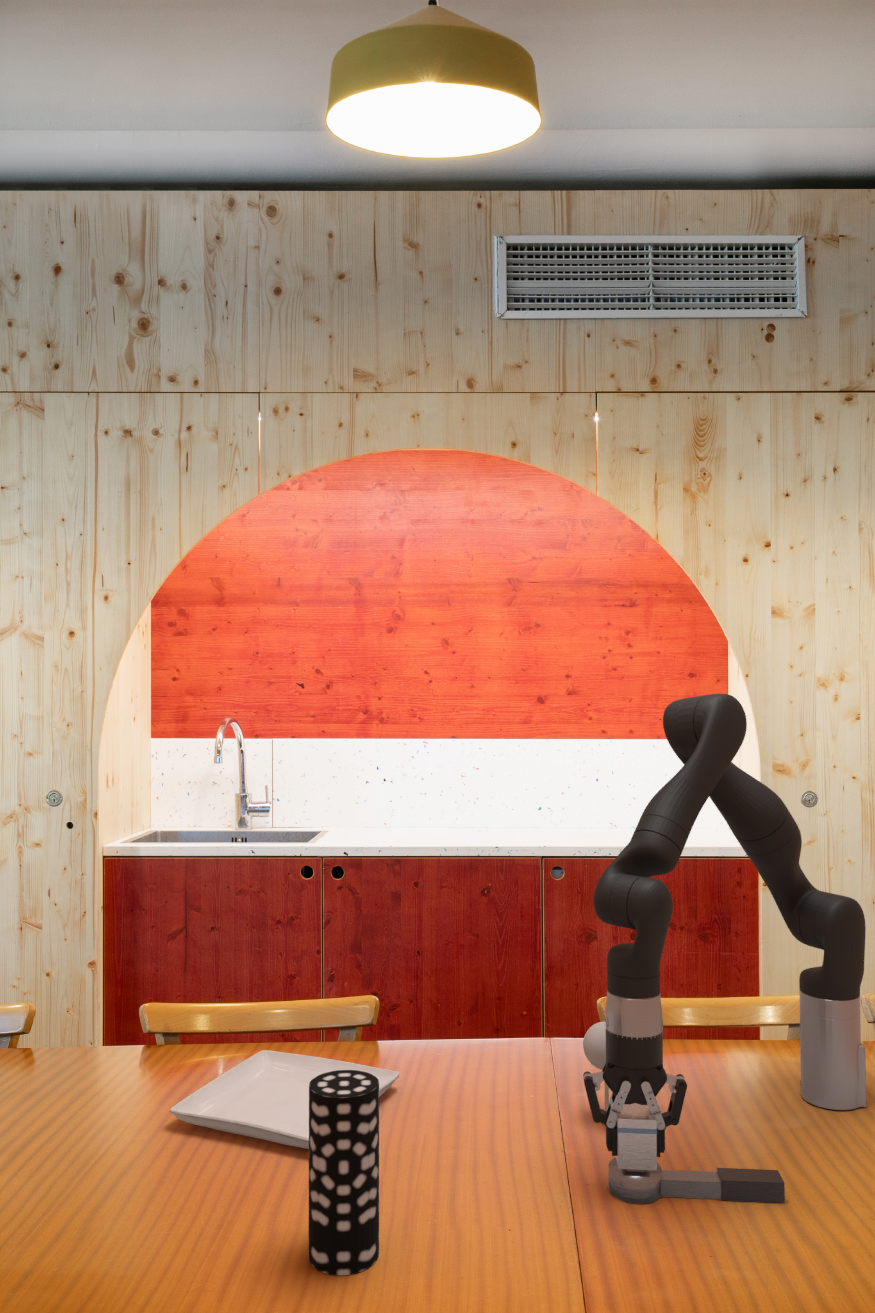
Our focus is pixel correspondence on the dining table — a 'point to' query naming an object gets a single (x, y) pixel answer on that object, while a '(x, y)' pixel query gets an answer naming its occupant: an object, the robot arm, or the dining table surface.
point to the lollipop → (597, 1050)
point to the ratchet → (695, 1184)
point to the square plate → (266, 1096)
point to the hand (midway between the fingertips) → (635, 1153)
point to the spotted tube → (343, 1171)
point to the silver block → (636, 1138)
